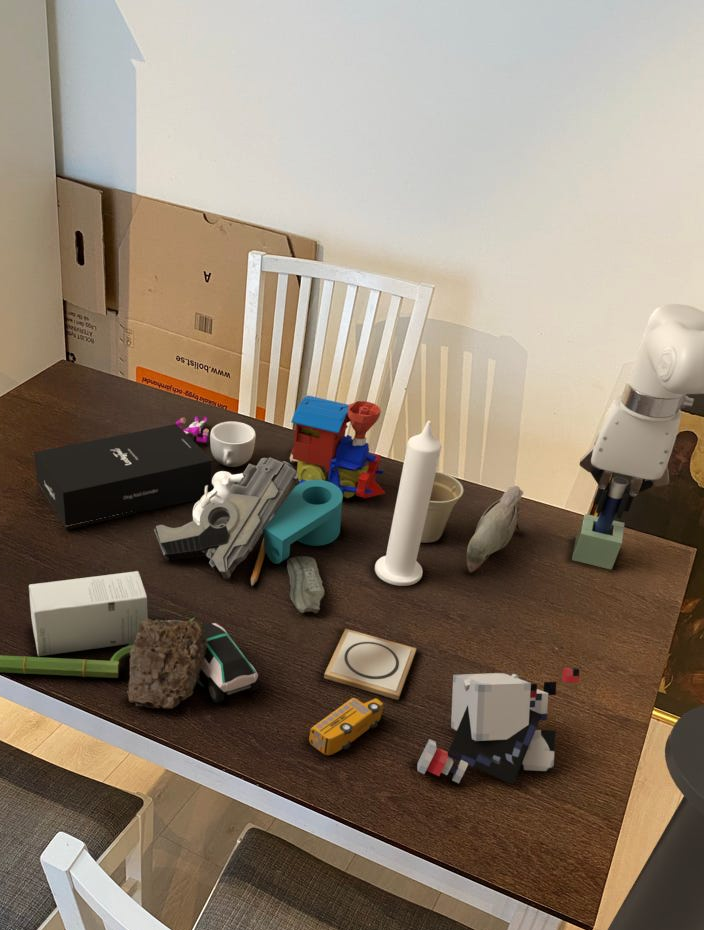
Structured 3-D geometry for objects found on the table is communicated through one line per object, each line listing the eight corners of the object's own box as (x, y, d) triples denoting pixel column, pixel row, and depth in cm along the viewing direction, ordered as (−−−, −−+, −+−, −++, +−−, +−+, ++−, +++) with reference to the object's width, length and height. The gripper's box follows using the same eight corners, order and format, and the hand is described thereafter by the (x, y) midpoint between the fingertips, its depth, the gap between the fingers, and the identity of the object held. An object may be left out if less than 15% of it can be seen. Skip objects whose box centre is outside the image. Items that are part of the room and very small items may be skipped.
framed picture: (415, 652, 127) (417, 647, 126) (398, 700, 120) (399, 694, 119) (344, 632, 129) (345, 627, 129) (323, 678, 122) (324, 672, 122)
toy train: (303, 462, 163) (312, 381, 153) (392, 483, 159) (407, 402, 149) (283, 490, 156) (292, 408, 146) (376, 514, 152) (391, 430, 142)
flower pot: (417, 509, 154) (427, 463, 148) (463, 534, 149) (476, 488, 143) (380, 529, 149) (388, 482, 143) (427, 556, 144) (437, 509, 138)
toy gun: (142, 542, 139) (225, 585, 134) (216, 428, 142) (300, 465, 137) (149, 552, 142) (231, 594, 137) (221, 440, 145) (304, 477, 140)
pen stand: (614, 549, 148) (624, 522, 144) (611, 570, 143) (622, 543, 140) (575, 539, 149) (584, 513, 146) (571, 560, 145) (581, 533, 142)
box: (66, 530, 144) (63, 493, 140) (37, 488, 153) (34, 451, 149) (211, 496, 154) (212, 460, 149) (176, 458, 163) (176, 423, 158)
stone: (328, 603, 130) (293, 607, 130) (328, 615, 131) (293, 618, 131) (315, 554, 140) (282, 557, 140) (315, 565, 141) (282, 569, 141)
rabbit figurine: (220, 500, 153) (222, 447, 147) (260, 514, 150) (265, 461, 144) (180, 534, 145) (181, 480, 139) (222, 551, 142) (225, 496, 136)
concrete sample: (201, 613, 114) (207, 615, 120) (120, 618, 116) (129, 620, 121) (206, 707, 114) (212, 705, 119) (125, 711, 115) (133, 709, 120)
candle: (421, 589, 138) (457, 437, 121) (373, 583, 138) (402, 430, 122) (421, 561, 143) (455, 411, 126) (375, 555, 144) (403, 405, 127)
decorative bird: (452, 567, 142) (462, 526, 137) (490, 520, 152) (501, 480, 148) (485, 580, 140) (497, 539, 135) (522, 531, 150) (534, 491, 145)
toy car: (218, 709, 117) (220, 678, 114) (177, 650, 125) (178, 620, 121) (259, 695, 119) (262, 665, 116) (217, 638, 127) (219, 608, 124)
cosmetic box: (149, 641, 126) (39, 662, 123) (139, 612, 130) (32, 631, 127) (147, 594, 120) (31, 614, 117) (137, 565, 125) (24, 584, 121)
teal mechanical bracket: (353, 495, 142) (316, 473, 146) (282, 540, 136) (245, 516, 140) (350, 529, 147) (314, 507, 151) (281, 574, 140) (246, 549, 144)
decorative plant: (-39, 659, 115) (205, 671, 116) (-28, 604, 120) (207, 617, 121) (-31, 684, 120) (203, 696, 121) (-20, 631, 125) (205, 642, 126)
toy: (474, 622, 117) (589, 672, 115) (416, 744, 120) (526, 794, 118) (482, 636, 105) (610, 692, 103) (417, 771, 108) (539, 827, 107)
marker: (600, 552, 147) (628, 478, 138) (599, 560, 145) (627, 486, 137) (585, 548, 148) (612, 475, 139) (584, 556, 146) (611, 482, 137)
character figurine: (187, 427, 173) (164, 450, 163) (189, 400, 170) (166, 422, 160) (216, 433, 172) (195, 457, 162) (219, 407, 169) (198, 430, 159)
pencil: (272, 519, 150) (250, 590, 136) (269, 514, 150) (247, 584, 136) (277, 517, 150) (256, 588, 136) (275, 512, 149) (253, 583, 135)
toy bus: (386, 703, 115) (362, 687, 117) (334, 742, 109) (310, 725, 112) (383, 721, 117) (359, 706, 119) (332, 761, 112) (308, 744, 114)
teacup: (215, 446, 166) (216, 418, 162) (257, 452, 165) (259, 425, 161) (201, 474, 159) (202, 446, 155) (246, 481, 158) (248, 453, 154)
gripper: (712, 399, 130) (665, 511, 142) (593, 375, 134) (557, 486, 146) (713, 423, 124) (663, 537, 137) (588, 398, 128) (551, 510, 141)
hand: (609, 510), depth 141 cm, fingers closed on marker, 2 cm apart
